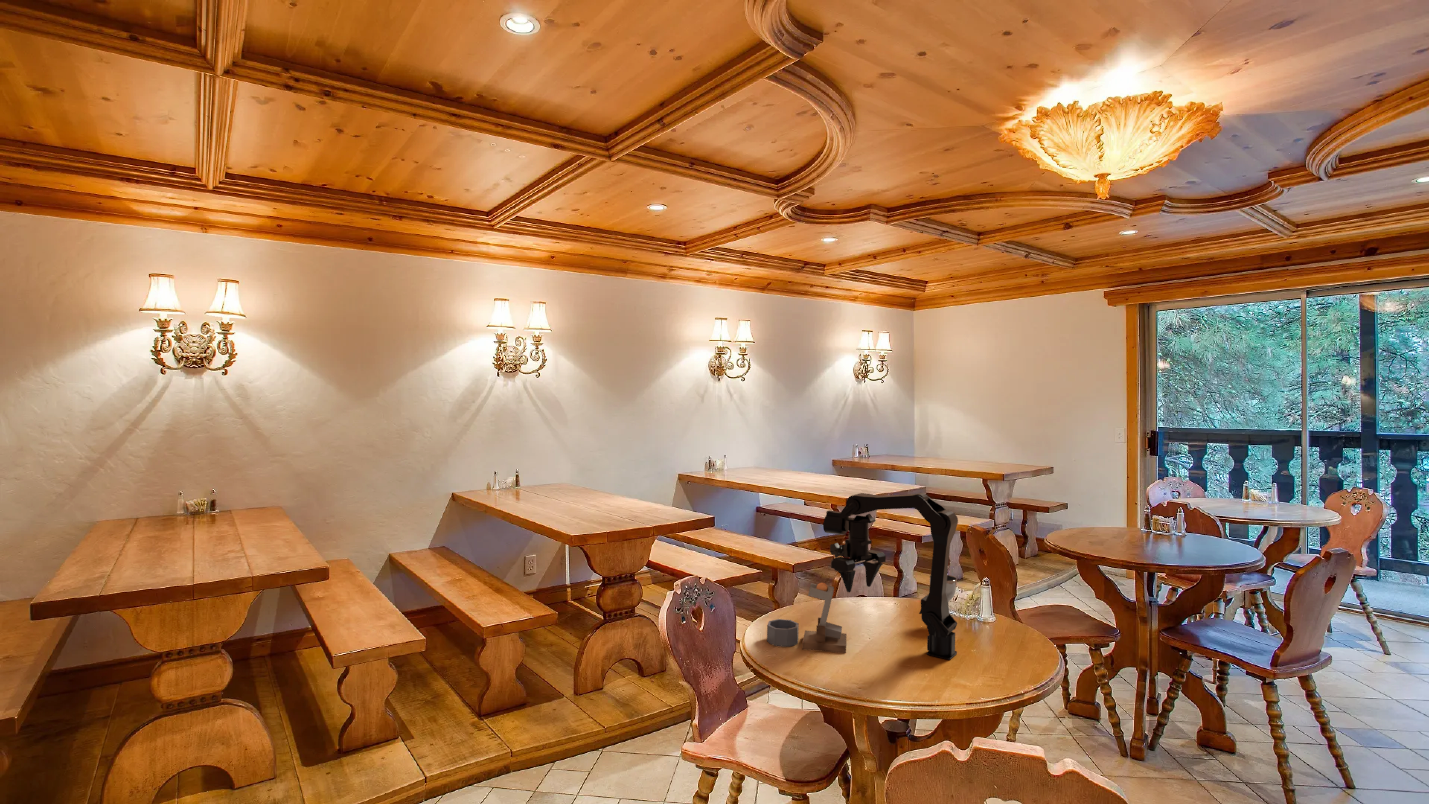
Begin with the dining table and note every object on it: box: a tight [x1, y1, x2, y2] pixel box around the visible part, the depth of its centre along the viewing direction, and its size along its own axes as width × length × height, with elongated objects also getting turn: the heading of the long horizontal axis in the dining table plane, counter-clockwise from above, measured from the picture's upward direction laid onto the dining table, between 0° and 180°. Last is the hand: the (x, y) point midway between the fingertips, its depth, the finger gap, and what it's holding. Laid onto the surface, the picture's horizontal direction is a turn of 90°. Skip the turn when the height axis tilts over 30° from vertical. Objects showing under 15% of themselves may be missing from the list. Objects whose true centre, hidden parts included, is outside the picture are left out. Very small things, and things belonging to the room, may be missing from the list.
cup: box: [766, 618, 800, 648], centre depth 206 cm, size 9×9×5 cm
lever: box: [807, 582, 843, 639], centre depth 203 cm, size 11×6×13 cm, turn 79°
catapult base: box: [801, 617, 848, 654], centre depth 203 cm, size 12×10×6 cm
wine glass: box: [929, 574, 958, 603], centre depth 221 cm, size 8×8×15 cm
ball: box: [816, 582, 828, 592], centre depth 203 cm, size 3×3×3 cm
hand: (858, 589), depth 211 cm, fingers open, 9 cm apart
